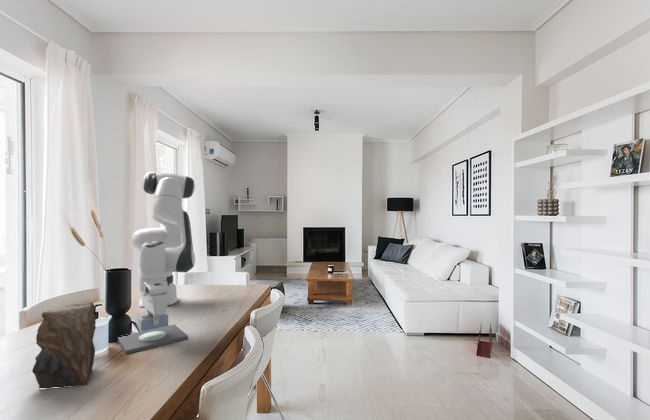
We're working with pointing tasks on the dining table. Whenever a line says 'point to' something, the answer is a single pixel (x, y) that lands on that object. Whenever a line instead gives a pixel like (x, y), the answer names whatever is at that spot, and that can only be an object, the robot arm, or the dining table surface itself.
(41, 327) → the brown rock
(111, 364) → the dining table surface
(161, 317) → the phone
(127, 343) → the charging mat
